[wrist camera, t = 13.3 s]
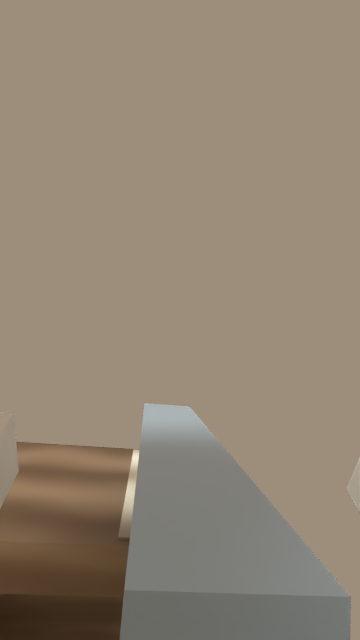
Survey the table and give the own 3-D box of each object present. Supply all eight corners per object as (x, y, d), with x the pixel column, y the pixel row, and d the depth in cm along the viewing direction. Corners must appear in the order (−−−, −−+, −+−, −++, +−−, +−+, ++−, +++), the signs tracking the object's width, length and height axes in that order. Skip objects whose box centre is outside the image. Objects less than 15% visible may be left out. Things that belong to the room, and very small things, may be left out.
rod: (345, 862, 6) (350, 597, 6) (97, 870, 5) (124, 589, 6) (185, 452, 30) (189, 406, 31) (140, 449, 30) (144, 403, 31)
